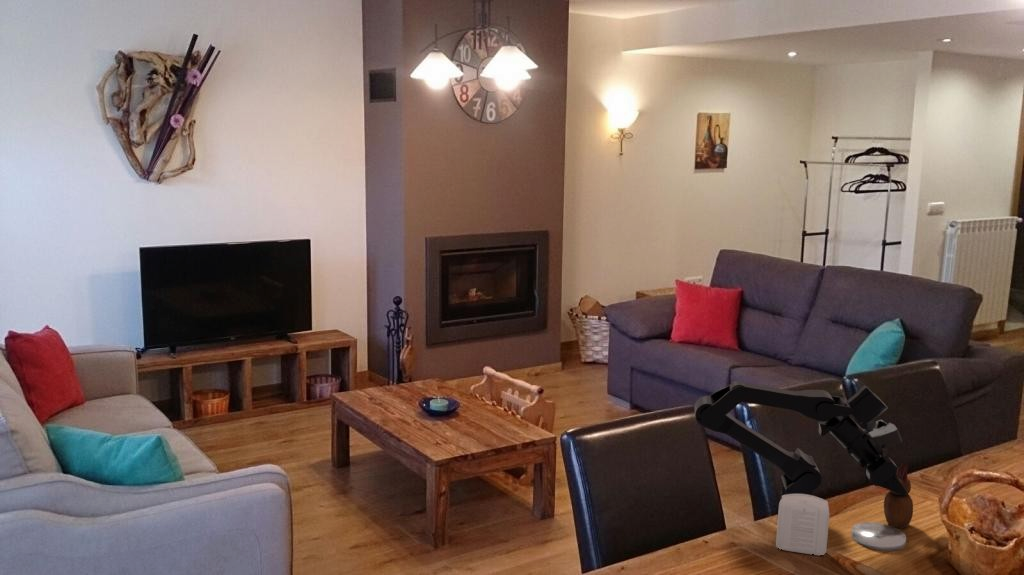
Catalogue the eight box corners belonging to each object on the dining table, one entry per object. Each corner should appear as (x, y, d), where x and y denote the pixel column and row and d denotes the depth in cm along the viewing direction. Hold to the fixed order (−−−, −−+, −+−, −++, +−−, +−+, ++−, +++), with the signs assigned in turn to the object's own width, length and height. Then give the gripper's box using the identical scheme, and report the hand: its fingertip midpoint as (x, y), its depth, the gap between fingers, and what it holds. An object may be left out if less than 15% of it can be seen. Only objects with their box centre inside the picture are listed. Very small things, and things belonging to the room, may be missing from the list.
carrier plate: (850, 545, 194) (851, 538, 193) (852, 525, 204) (852, 519, 203) (906, 554, 190) (907, 548, 189) (905, 533, 200) (905, 527, 199)
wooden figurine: (915, 531, 201) (919, 467, 198) (887, 530, 201) (892, 466, 199) (906, 519, 207) (910, 456, 205) (880, 517, 208) (883, 455, 206)
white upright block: (826, 549, 192) (830, 494, 190) (826, 558, 188) (830, 502, 186) (775, 542, 195) (779, 488, 193) (775, 551, 191) (778, 495, 189)
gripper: (890, 426, 192) (941, 479, 192) (870, 401, 210) (916, 449, 210) (849, 459, 194) (899, 511, 194) (832, 431, 212) (878, 479, 213)
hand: (899, 486), depth 203 cm, fingers open, 9 cm apart
